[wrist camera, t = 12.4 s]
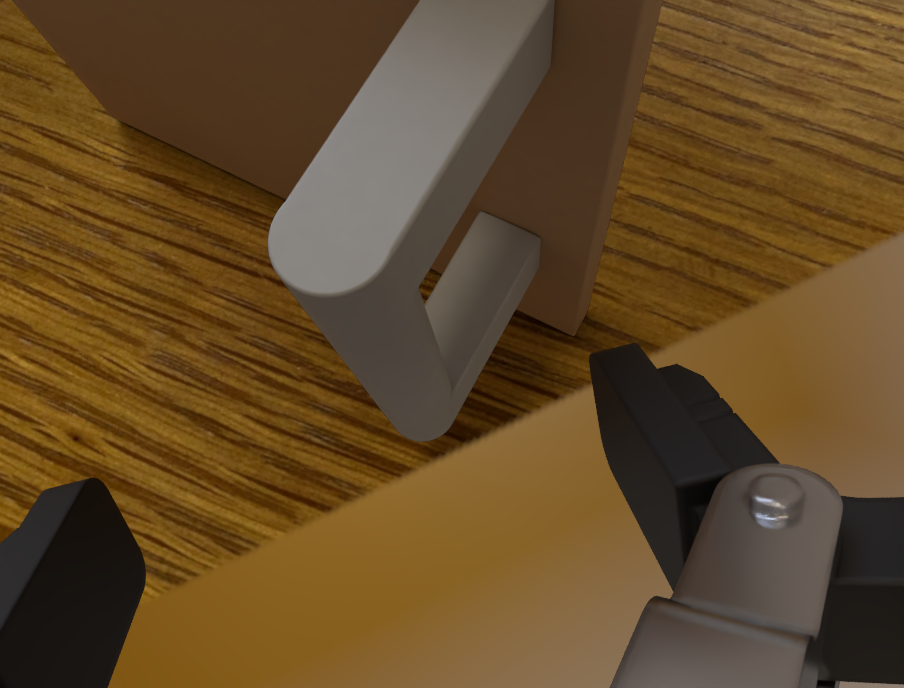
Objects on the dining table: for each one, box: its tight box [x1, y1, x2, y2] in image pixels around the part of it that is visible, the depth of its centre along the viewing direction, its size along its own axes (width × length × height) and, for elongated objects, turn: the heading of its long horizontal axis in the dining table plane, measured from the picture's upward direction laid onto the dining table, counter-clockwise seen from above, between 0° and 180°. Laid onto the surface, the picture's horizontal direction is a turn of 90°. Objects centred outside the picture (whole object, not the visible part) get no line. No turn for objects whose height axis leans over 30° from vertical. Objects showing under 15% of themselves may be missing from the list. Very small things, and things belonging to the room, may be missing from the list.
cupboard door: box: [12, 0, 663, 442], centre depth 16 cm, size 6×18×15 cm, turn 61°
